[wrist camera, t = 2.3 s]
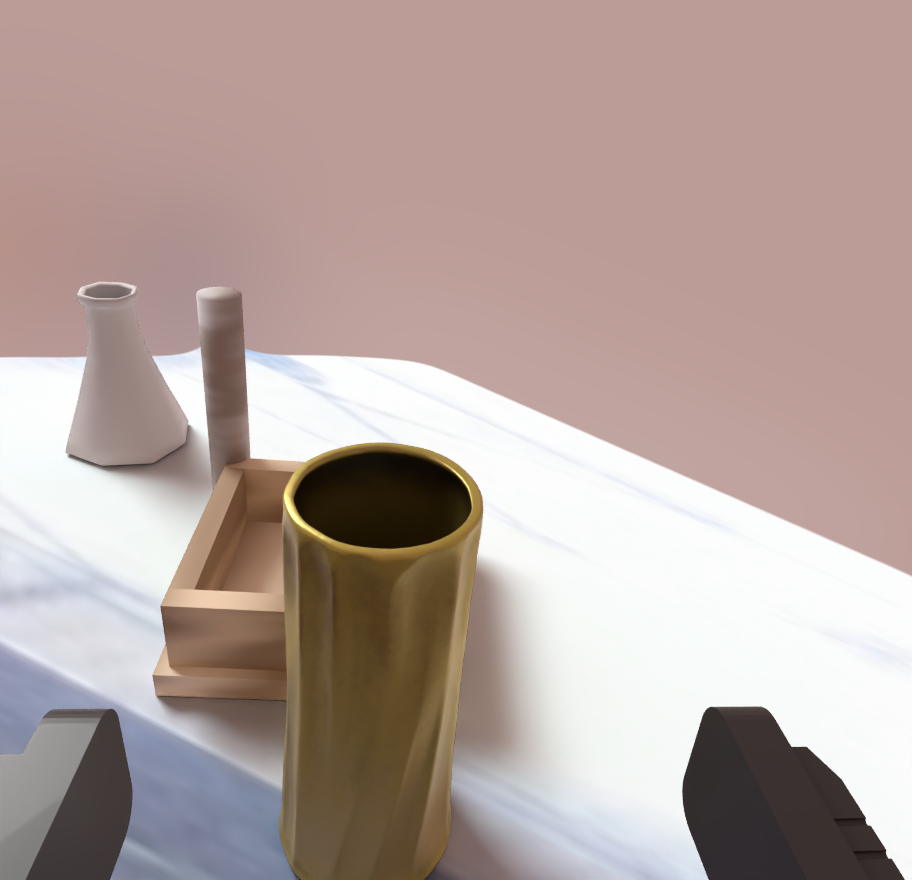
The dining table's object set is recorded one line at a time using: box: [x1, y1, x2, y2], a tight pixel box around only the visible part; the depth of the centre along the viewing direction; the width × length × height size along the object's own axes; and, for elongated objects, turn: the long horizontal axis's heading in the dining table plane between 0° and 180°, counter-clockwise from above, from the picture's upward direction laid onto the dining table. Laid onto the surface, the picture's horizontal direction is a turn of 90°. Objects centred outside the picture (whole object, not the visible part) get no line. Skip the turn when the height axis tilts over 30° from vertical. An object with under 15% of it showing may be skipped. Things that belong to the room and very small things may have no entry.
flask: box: [65, 282, 188, 466], centre depth 44 cm, size 7×7×10 cm
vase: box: [279, 443, 483, 880], centre depth 22 cm, size 6×6×14 cm
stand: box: [153, 287, 305, 701], centre depth 32 cm, size 12×13×13 cm
